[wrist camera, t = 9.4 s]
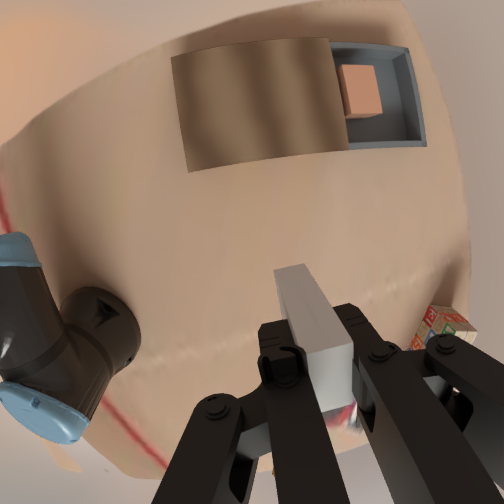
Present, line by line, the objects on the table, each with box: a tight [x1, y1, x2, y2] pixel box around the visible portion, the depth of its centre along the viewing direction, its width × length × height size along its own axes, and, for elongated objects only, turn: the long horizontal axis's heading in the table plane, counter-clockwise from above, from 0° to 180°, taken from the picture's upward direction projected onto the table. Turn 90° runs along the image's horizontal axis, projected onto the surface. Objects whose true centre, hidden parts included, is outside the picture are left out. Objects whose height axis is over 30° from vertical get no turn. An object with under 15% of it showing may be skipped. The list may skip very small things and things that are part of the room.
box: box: [329, 42, 427, 150], centre depth 31 cm, size 12×14×4 cm
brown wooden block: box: [171, 38, 349, 173], centre depth 31 cm, size 18×14×6 cm
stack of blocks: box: [408, 305, 478, 392], centre depth 41 cm, size 21×6×12 cm, turn 169°
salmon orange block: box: [336, 65, 383, 119], centre depth 30 cm, size 6×6×4 cm
